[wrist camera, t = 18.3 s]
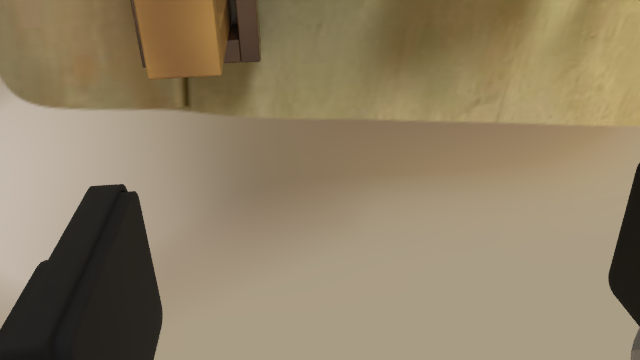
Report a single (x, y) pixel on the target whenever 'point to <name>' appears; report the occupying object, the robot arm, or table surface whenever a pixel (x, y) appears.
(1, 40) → the table surface
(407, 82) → the table surface
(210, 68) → the frame
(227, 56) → the holder
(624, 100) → the table surface
